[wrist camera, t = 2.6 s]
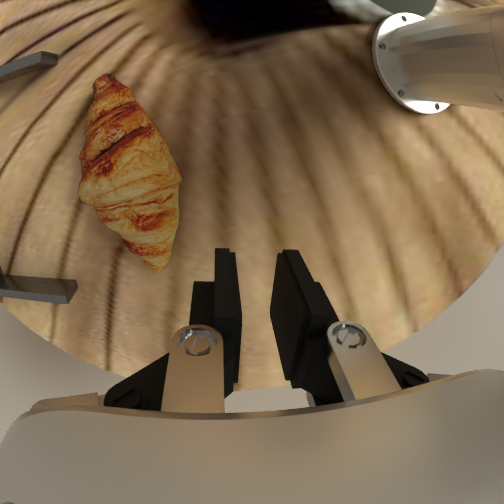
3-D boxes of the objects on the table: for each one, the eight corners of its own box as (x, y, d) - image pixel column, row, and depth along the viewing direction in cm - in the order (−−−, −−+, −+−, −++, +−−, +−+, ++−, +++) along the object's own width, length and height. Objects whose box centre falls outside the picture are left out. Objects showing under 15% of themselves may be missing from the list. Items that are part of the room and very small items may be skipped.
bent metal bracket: (58, 54, 19) (41, 50, 16) (78, 287, 32) (67, 304, 29) (-27, 87, 17) (-44, 89, 14) (0, 281, 30) (-11, 294, 27)
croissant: (189, 242, 35) (220, 266, 29) (115, 279, 31) (129, 313, 25) (141, 71, 25) (163, 49, 18) (52, 102, 20) (44, 86, 14)
